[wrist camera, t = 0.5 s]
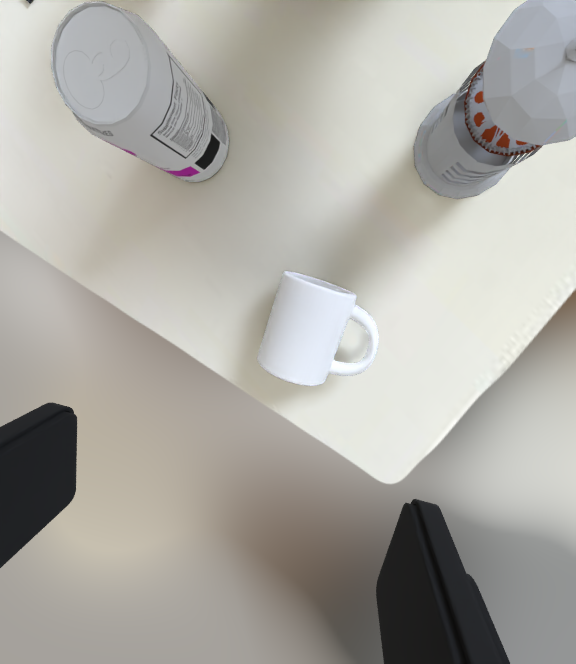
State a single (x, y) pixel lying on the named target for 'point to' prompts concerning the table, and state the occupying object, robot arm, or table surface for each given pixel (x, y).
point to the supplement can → (136, 92)
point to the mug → (312, 331)
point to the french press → (504, 103)
